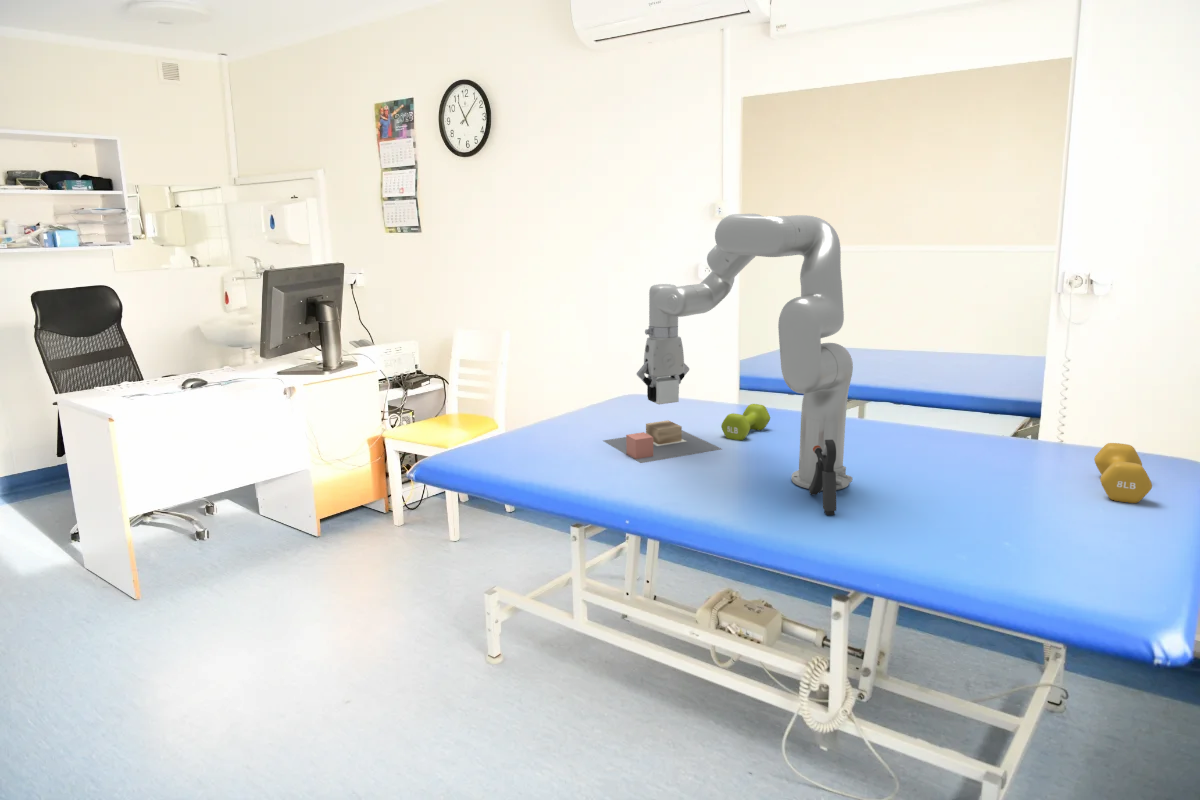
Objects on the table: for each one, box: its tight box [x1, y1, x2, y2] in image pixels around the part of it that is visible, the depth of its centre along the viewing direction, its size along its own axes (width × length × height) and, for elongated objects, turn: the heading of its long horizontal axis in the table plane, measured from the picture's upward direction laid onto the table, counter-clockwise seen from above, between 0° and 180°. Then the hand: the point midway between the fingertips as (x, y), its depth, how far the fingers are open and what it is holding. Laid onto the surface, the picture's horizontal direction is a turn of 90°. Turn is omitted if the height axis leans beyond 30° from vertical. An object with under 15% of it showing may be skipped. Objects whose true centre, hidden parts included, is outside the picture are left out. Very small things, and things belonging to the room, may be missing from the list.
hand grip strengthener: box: [808, 440, 837, 516], centre depth 160 cm, size 2×12×15 cm, turn 2°
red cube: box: [625, 431, 653, 459], centre depth 196 cm, size 5×5×5 cm
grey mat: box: [602, 430, 723, 464], centre depth 204 cm, size 22×24×1 cm
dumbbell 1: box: [721, 403, 771, 441], centre depth 213 cm, size 16×8×7 cm, turn 143°
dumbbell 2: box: [1093, 442, 1153, 504], centre depth 167 cm, size 19×9×8 cm, turn 152°
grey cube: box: [647, 376, 680, 405], centre depth 206 cm, size 6×6×6 cm
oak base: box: [645, 419, 683, 444], centre depth 209 cm, size 7×7×4 cm
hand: (663, 398), depth 207 cm, fingers closed on grey cube, 6 cm apart
